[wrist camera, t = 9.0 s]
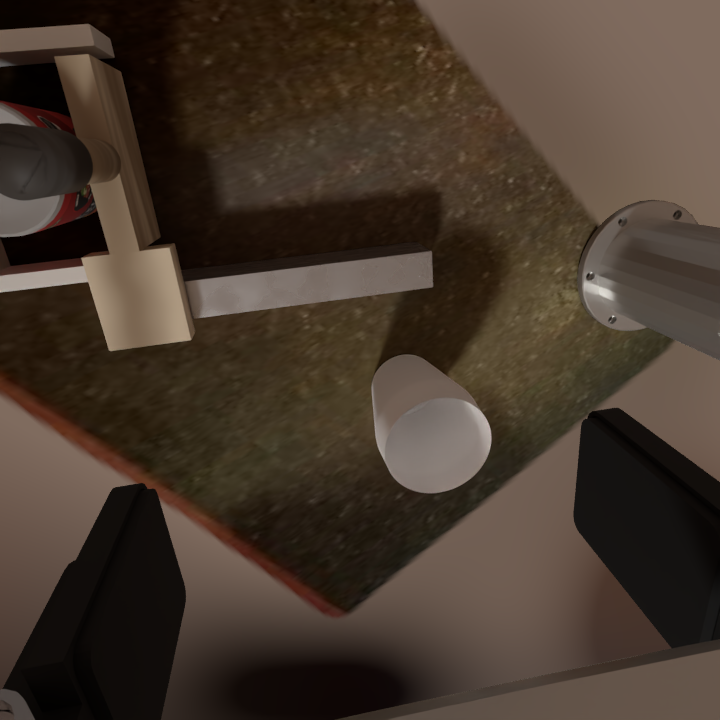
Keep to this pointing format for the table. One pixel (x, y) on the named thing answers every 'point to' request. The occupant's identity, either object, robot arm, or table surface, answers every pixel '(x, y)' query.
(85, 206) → the canned food
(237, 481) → the table surface
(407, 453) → the cup
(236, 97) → the table surface
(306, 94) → the table surface
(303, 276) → the rail
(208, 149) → the table surface
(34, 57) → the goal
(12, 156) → the kicker figure
